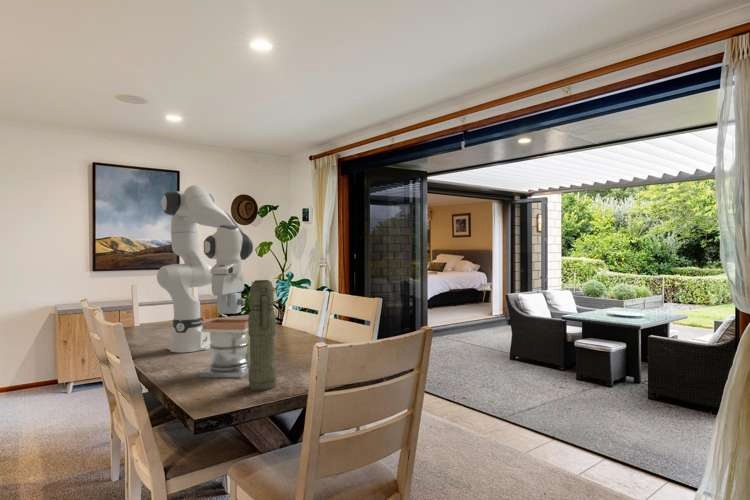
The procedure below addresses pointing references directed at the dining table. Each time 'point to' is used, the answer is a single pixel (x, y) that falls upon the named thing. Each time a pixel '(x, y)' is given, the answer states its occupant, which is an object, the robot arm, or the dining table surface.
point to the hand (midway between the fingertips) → (229, 305)
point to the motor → (227, 348)
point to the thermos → (262, 336)
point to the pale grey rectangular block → (230, 304)
